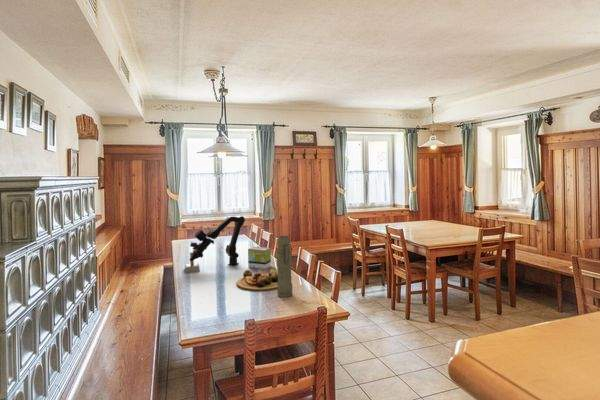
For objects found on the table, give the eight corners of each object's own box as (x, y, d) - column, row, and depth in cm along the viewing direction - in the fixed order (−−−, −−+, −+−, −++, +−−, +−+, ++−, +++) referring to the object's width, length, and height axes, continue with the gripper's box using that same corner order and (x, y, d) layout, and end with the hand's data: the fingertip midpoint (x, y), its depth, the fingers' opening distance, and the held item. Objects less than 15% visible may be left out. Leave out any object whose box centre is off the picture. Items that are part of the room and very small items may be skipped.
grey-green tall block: (287, 291, 228) (286, 234, 226) (295, 297, 218) (294, 237, 215) (274, 293, 225) (272, 235, 222) (281, 299, 214) (280, 238, 211)
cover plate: (197, 267, 282) (197, 252, 282) (186, 268, 280) (186, 253, 279) (197, 264, 292) (196, 250, 291) (186, 265, 289) (185, 251, 289)
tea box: (248, 267, 289) (247, 248, 288) (254, 264, 298) (253, 246, 297) (265, 269, 283) (265, 249, 282) (271, 266, 292) (271, 247, 291)
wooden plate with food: (228, 283, 249) (227, 271, 248) (268, 274, 268) (268, 263, 267) (252, 296, 224) (252, 282, 223) (295, 285, 243) (295, 272, 242)
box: (199, 271, 281) (199, 266, 280) (185, 272, 277) (185, 267, 277) (198, 267, 291) (198, 262, 291) (185, 268, 288) (184, 264, 288)
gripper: (194, 236, 292) (180, 251, 289) (197, 239, 275) (182, 256, 272) (205, 245, 296) (191, 260, 292) (209, 249, 278) (194, 265, 275)
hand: (189, 260), depth 283 cm, fingers closed on cover plate, 2 cm apart
